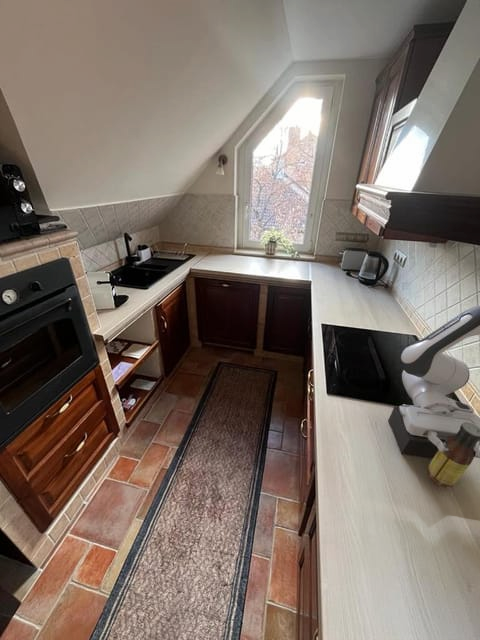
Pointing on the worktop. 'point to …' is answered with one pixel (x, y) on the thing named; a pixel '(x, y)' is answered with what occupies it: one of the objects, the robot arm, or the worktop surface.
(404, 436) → the caddy
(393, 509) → the worktop surface
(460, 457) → the sauce bottle
